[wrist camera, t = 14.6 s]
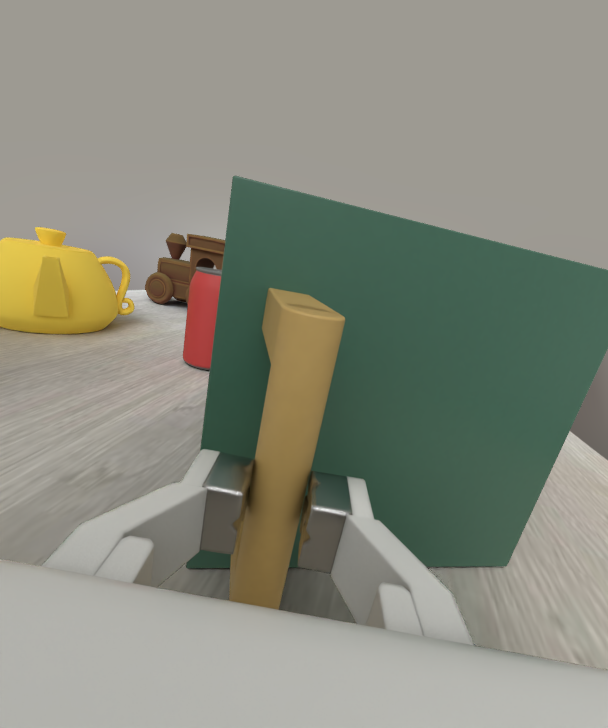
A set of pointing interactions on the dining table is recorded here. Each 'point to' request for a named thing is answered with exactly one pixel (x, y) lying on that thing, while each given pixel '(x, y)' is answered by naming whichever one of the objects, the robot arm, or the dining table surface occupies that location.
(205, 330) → the beer can
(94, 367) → the dining table surface
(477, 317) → the door
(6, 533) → the dining table surface
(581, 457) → the dining table surface
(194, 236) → the wooden toy train
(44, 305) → the teapot
